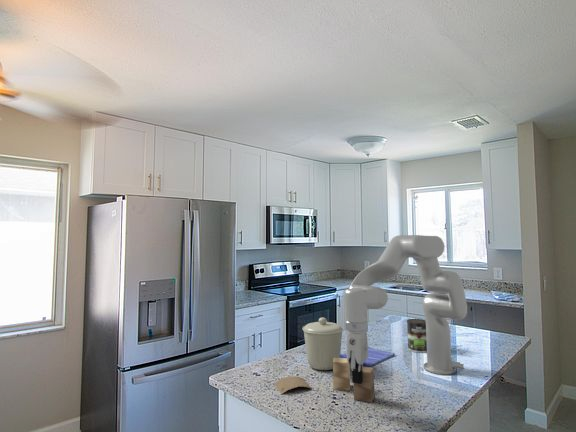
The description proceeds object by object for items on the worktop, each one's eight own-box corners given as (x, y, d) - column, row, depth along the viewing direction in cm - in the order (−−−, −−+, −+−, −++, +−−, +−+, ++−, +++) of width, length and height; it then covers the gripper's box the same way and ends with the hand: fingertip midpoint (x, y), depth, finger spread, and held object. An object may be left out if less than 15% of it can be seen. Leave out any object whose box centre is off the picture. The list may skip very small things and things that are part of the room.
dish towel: (335, 360, 167) (335, 354, 167) (364, 349, 183) (364, 343, 184) (367, 370, 155) (367, 363, 155) (395, 356, 171) (395, 350, 171)
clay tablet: (305, 380, 144) (305, 373, 144) (316, 390, 135) (315, 383, 135) (270, 386, 139) (270, 379, 139) (279, 397, 130) (279, 389, 130)
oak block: (350, 385, 138) (349, 358, 138) (349, 390, 133) (349, 362, 133) (334, 384, 139) (333, 357, 139) (333, 389, 134) (332, 362, 135)
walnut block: (374, 397, 127) (373, 368, 128) (371, 403, 123) (370, 372, 123) (357, 394, 130) (357, 365, 130) (354, 399, 125) (353, 370, 126)
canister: (294, 366, 158) (293, 317, 159) (321, 356, 171) (320, 311, 172) (326, 377, 145) (325, 324, 147) (352, 366, 158) (351, 317, 159)
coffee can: (431, 353, 173) (430, 323, 174) (408, 352, 176) (407, 322, 177) (428, 347, 183) (427, 318, 184) (406, 345, 186) (405, 318, 187)
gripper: (361, 332, 112) (363, 393, 111) (372, 322, 126) (373, 376, 124) (338, 330, 115) (339, 389, 114) (351, 320, 129) (352, 373, 128)
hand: (357, 382), depth 119 cm, fingers closed
